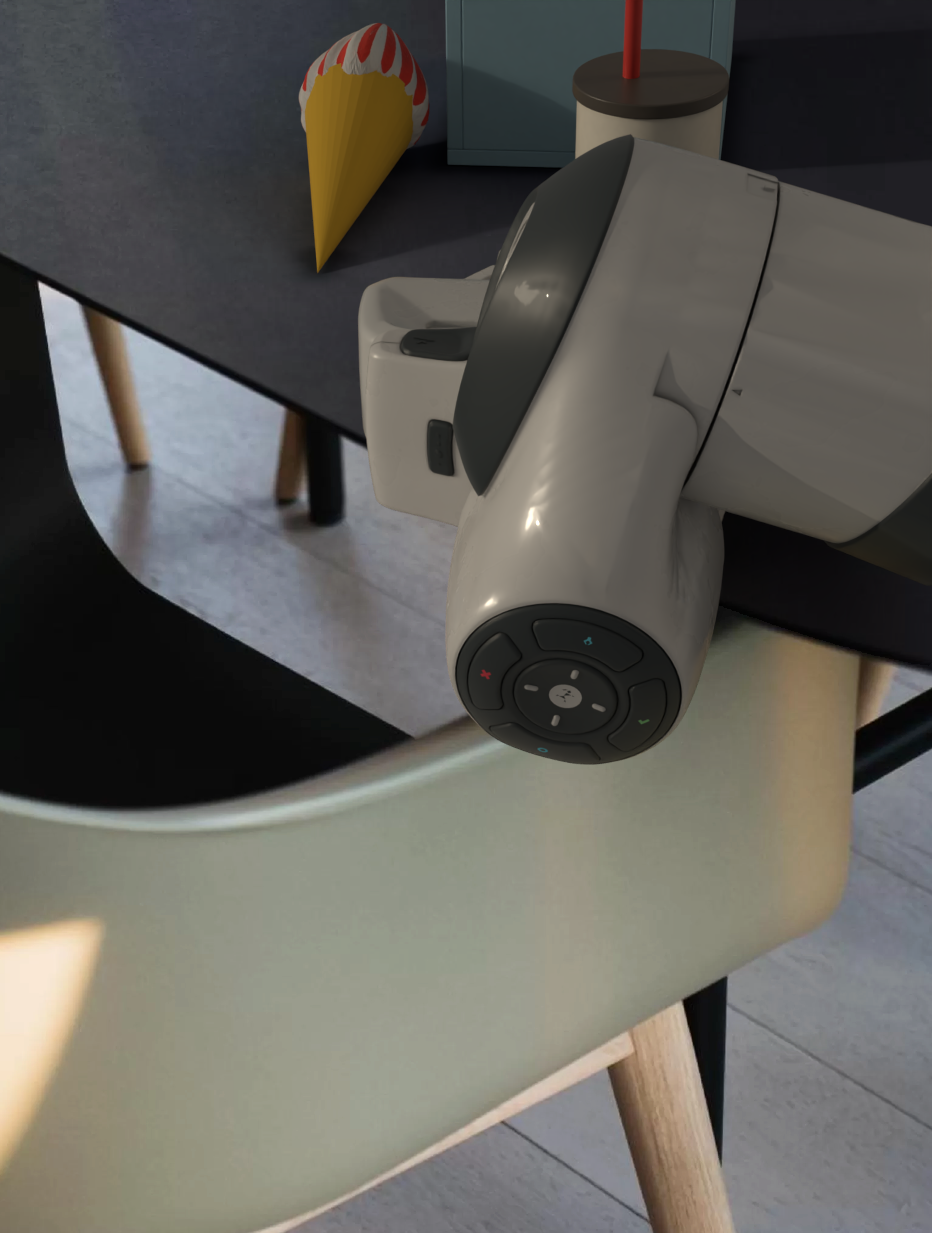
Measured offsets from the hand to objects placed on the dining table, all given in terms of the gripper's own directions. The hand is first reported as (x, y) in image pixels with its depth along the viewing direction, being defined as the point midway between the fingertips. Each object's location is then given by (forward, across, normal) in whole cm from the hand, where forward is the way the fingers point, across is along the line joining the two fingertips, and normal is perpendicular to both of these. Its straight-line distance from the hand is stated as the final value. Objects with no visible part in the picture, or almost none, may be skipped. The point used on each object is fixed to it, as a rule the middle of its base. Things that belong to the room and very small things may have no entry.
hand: (635, 270), depth 88 cm
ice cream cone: (+20, +16, +6) cm, 26 cm away
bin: (+31, +4, +6) cm, 32 cm away
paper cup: (+7, 0, +5) cm, 9 cm away
